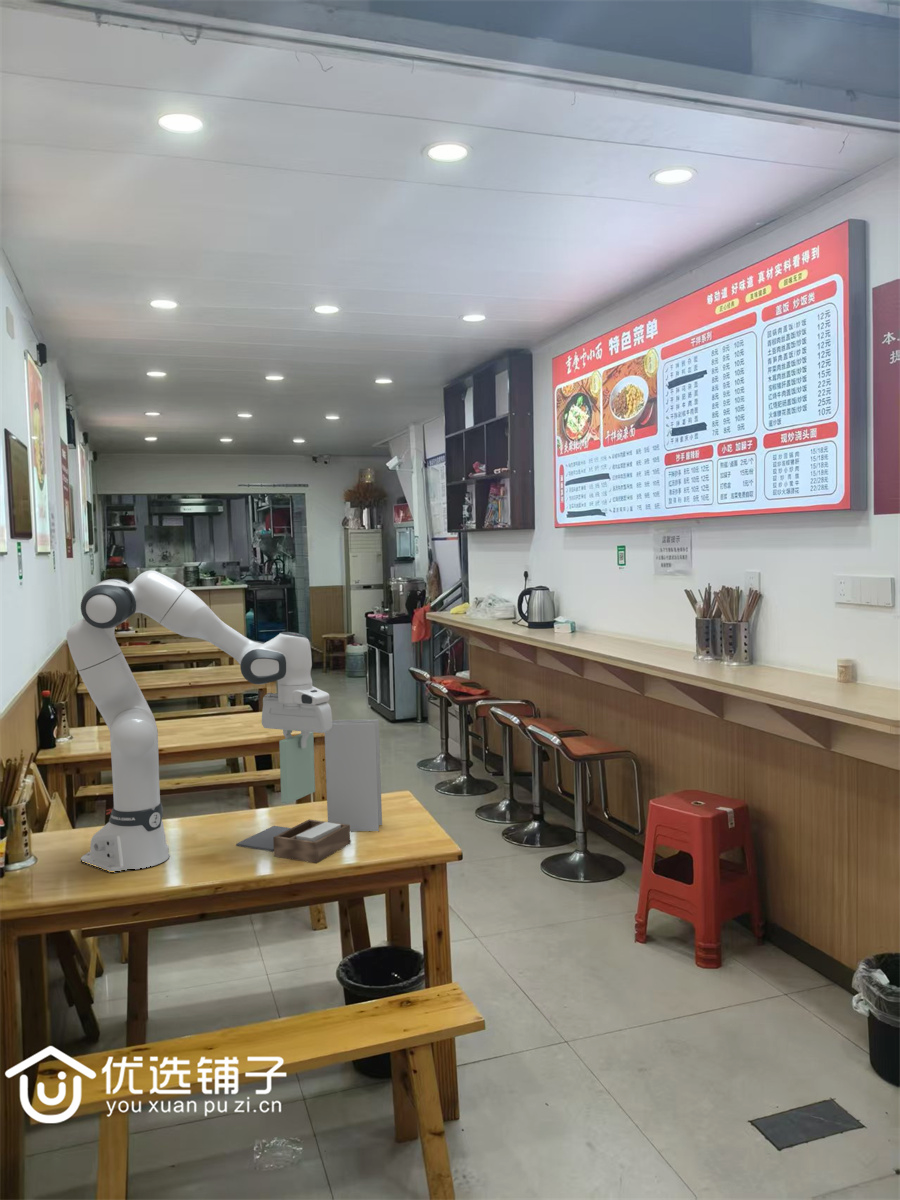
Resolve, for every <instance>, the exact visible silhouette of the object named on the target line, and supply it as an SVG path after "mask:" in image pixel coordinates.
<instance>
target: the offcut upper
mask: <svg viewBox="0 0 900 1200" xmlns="http://www.w3.org/2000/svg"><path fill="white" fill-rule="evenodd" d="M339 828H341V824H335V823H329V822H328V821H325V822H324V823H322V824H320V825H318V826H316V827H314V828H311V829H309V830H307V831H305V832H303V833H300V834H298V835H296V839H300V840H307V841H314V842H315V841H317V840H319V839H321V838H322V837H324V836H326V835H328V834H330V833H332V832H333V831H335V830H337V829H339Z"/></svg>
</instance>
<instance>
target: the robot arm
mask: <svg viewBox="0 0 900 1200" xmlns="http://www.w3.org/2000/svg"><path fill="white" fill-rule="evenodd" d="M80 612H81V615H82V617H83V618H82V619H80V620H78V621H76V622H74V623H73V624H72V625H71V626H70V627H69V628H68V630H67V632H66V641H67V646H68V648H69V649H68V650H69V652H70V654H71V658H72V660H73V663H74V665H75V668H76V669H77V672H78V674H79V676H80V677H81V680H82V682H83V684H84V686H85V687H86V690H87V692H88V693H89V696H90V698H91V700H92V701H93V703H94V705H95V706H96V708H97V710H98V712H99V713H100V715H101V717H102V719H103V721H104V723H105V724H106V726H107V728H108V730H109V738H110V739H109V741H110V756H111V757H110V759H111V771H112V772H111V774H112V775H111V776H112V791H113V793H112V794H113V807H111V808H109V809H106V810H105V811H106V815H110V816H109V819H108V822H107V823H105V825H103V827H101V828H100V829H99V830H98V831H96V833H94V834H93V836H92V837H91V839H90V847H89V848H90V851H88V852H87V853H85V854H83V855H82V856H81V857H80V861H81V860H82V861H84V862H87V863H90V864H93V865H96V866H98V867H101V868H103V869H106V870H109V871H120V872H122V871H121V870H125V871H128V870H127V869H135V870H140V868H142V869H146V867H147V868H150V866H151V867H153V866H157V865H159V864H161V863H163V862H166V861H167V860H168V859H169V858H170V852H169V850H170V847H169V845H168V844H167V840H166V832H165V827H164V821H163V814H164V812H163V809H164V808H163V803H162V801H161V795H160V794H161V790H160V767H159V766H160V765H159V764H160V763H159V762H160V761H159V760H160V759H159V732H158V727H157V722H156V718H155V716H154V714H153V711H152V710H151V708H150V706H149V704H148V701H147V700H146V698H145V696H144V694H143V692H142V690H141V688H140V686H139V684H138V682H137V681H136V679H135V676H134V674H133V672H132V670H131V668H130V666H129V663H128V662H127V660H126V658H125V657H126V656H125V655H124V654H123V651H122V649H121V647H120V645H119V644H118V641H117V638H116V636H115V632H116V631H115V629H116V627H118V626H119V625H121V624H122V623H124V622H126V621H127V620H128V619H129V618H130V617H131V616H133V615H134V614H136V613H138V614H142V615H146V616H148V617H149V618H151V619H152V620H153V621H155V622H156V623H158V624H159V625H160V626H163V627H164V628H166V629H167V630H169V631H171V632H173V633H174V634H178V635H179V636H182V637H185V638H193V639H200V640H204V641H206V642H208V643H211V645H214V646H215V647H216V648H218V649H220V650H221V651H223V652H224V653H226V654H227V655H229V656H231V657H232V658H233V659H235V661H237V663H238V664H239V666H240V673H241V675H242V676H243V678H244V679H245V680H246V681H248V682H249V683H250V684H254V685H259V686H260V685H265V684H268V683H272V682H273V683H274V682H276V681H277V692H276V693H275V692H274V693H273V692H268V693H266V694H265V695H264V696H263V698H262V711H261V726H262V727H263V728H264V729H271V730H282V734H283V736H284V739H286V738H290V737H293V735H292V733H293V732H294V731H296V732H300V734H301V735H303V737H302V739H301V741H298V748H306V746H307V739H308V737H309V735H310V732H313V733H316V734H325V732H328V731H330V730H331V728H332V720H333V713H332V708H331V705H330V703H329V701H330V693H328V692H327V691H325V690H321V689H320V688H317V687H315V686H314V685H313V679H312V676H311V671H312V666H313V662H312V649H311V648H312V647H311V642H310V640H309V639H308V637H307V636H306V635H304V634H301V633H299V632H291V631H282V632H279V634H277V635H276V636H275V637H273V638H271V639H269V640H268V641H266V642H265V641H258V640H253V639H250V638H248V637H247V636H245V635H243V634H242V633H241V632H240V631H237V630H236V629H234V628H233V627H231V626H230V625H229V624H227V623H225V622H224V621H223V620H221V619H220V618H219V617H218V615H217V614H216V613H215V612H214V611H213V610H212V609H211V608H210V607H209V605H208V604H206V602H204V601H203V599H201V598H200V597H199V596H198V595H197V594H195V593H194V592H193V591H191V589H189V588H187V587H186V586H185V585H183V584H181V583H180V582H178V581H177V580H175V579H173V578H171V577H169V576H167V575H165V574H163V573H161V572H159V571H156V570H151V569H150V570H146V571H144V572H142V573H140V574H138V575H137V577H135V578H134V580H133V581H132V582H131V583H130V582H128V581H126V580H124V579H122V578H109V579H105V580H102V581H100V582H98V583H95V584H94V585H93V586H92V587H91V588H89V589H88V590H87V591H86V592H85V593H84V595H83V597H82V598H81V602H80Z"/></svg>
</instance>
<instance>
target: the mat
mask: <svg viewBox="0 0 900 1200" xmlns="http://www.w3.org/2000/svg"><path fill="white" fill-rule="evenodd" d="M291 828H292V827H286V826H280V825H279V826H278V825H272V826H271V827H268V828H266V829H264V830H262V831H259V832H258V833H256V834H254V835H252V836H249V837H247V838H245V839H243V840H241V841H238V842H237V843H236V847H240V848H241V847H242V848H246V849H247V848H249V849H254V850H261V851H267V852H273V853H274V842H273V837H275V836H277V835H279V834H281V833H283V832H285V831H287V830H289V829H291Z"/></svg>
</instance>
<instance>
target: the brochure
mask: <svg viewBox="0 0 900 1200" xmlns="http://www.w3.org/2000/svg"><path fill="white" fill-rule="evenodd" d="M380 745H381V744H380V721H379V719H337V720H336V719H334V720H333V719H332V728H331V730H330V731H328V732H325V733H324V749H325V750H324V752H325V753H324V754H325V756H324V757H325V780H326V783H325V784H326V804H327V806H326V811H327V822H332V823H339V824H347V825H350V831H379V832H380V828H379V827H380V826H379V825H382V826H383V810H382V782H381V779H382V776H381V774H382V773H381V751H380V750H381V748H380V747H381V746H380Z"/></svg>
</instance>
